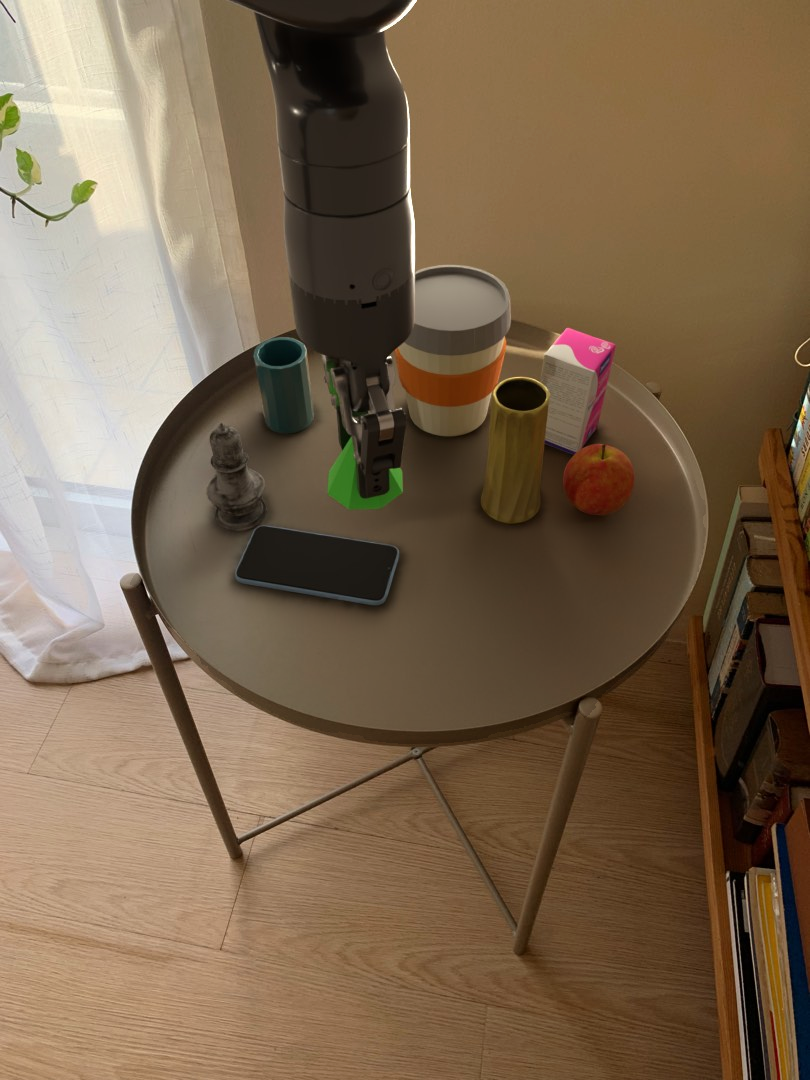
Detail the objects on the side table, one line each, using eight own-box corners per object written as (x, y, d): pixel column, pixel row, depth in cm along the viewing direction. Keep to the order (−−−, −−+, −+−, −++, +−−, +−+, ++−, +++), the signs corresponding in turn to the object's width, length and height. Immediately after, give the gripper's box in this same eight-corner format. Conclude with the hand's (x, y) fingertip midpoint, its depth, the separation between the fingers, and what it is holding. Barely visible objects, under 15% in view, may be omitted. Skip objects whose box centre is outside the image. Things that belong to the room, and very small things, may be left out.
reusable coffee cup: (433, 363, 107) (435, 251, 96) (523, 401, 102) (535, 287, 91) (371, 419, 100) (364, 305, 89) (463, 462, 95) (469, 347, 84)
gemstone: (313, 468, 67) (306, 406, 62) (386, 446, 68) (384, 384, 64) (341, 521, 63) (336, 459, 59) (418, 496, 65) (418, 434, 60)
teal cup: (270, 438, 99) (259, 373, 92) (260, 407, 102) (248, 343, 95) (319, 427, 100) (311, 362, 93) (307, 397, 103) (299, 332, 97)
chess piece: (266, 533, 89) (248, 444, 80) (208, 533, 89) (184, 444, 80) (272, 491, 93) (256, 402, 84) (217, 491, 93) (195, 402, 84)
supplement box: (578, 457, 96) (594, 372, 87) (529, 438, 98) (539, 353, 89) (600, 427, 99) (617, 342, 90) (552, 409, 101) (564, 325, 93)
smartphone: (256, 522, 89) (401, 545, 86) (257, 528, 89) (401, 550, 87) (230, 578, 84) (384, 603, 82) (232, 583, 85) (384, 609, 82)
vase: (472, 515, 90) (478, 406, 80) (491, 476, 94) (500, 367, 83) (530, 531, 89) (544, 422, 78) (547, 490, 92) (562, 381, 82)
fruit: (633, 528, 89) (648, 471, 83) (564, 530, 89) (574, 472, 83) (621, 480, 93) (634, 422, 87) (555, 481, 93) (564, 423, 87)
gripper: (264, 213, 56) (292, 420, 69) (318, 340, 47) (339, 551, 60) (378, 194, 57) (385, 400, 70) (451, 314, 48) (444, 526, 61)
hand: (364, 469), depth 65 cm, fingers closed on gemstone, 4 cm apart
